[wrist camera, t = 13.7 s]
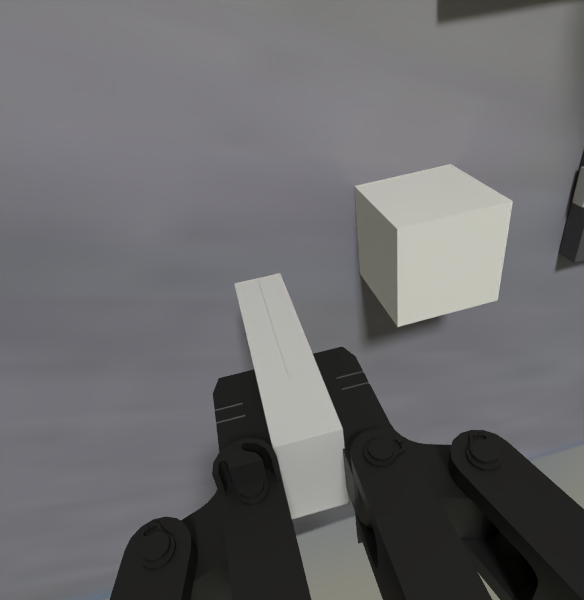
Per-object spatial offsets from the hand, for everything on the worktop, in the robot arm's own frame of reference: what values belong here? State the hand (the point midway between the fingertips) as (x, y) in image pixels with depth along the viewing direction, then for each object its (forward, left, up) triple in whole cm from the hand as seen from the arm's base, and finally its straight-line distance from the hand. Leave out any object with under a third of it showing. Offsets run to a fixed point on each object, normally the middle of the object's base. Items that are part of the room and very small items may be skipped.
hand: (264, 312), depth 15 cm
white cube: (+7, 0, -4) cm, 8 cm away
